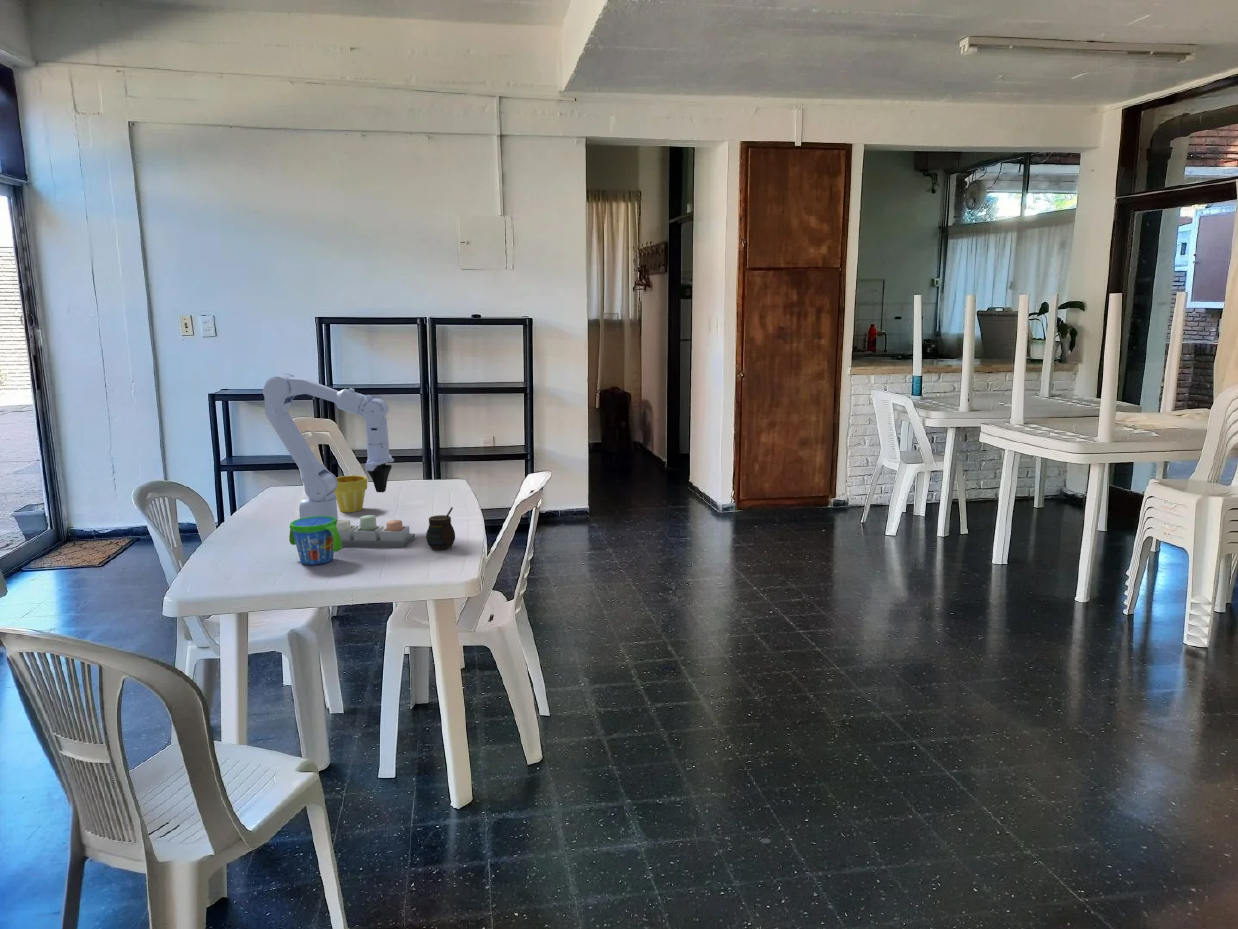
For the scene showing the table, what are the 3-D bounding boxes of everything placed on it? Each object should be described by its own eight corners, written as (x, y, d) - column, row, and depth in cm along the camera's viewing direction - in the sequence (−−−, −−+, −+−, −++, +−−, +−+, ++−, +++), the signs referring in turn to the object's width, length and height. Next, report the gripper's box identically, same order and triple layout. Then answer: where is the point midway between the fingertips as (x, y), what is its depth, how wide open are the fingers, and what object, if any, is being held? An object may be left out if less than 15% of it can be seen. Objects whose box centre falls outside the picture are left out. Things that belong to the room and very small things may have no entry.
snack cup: (278, 561, 202) (274, 521, 200) (316, 551, 211) (312, 512, 209) (317, 572, 193) (314, 530, 191) (355, 561, 202) (352, 520, 200)
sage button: (358, 533, 216) (357, 518, 215) (364, 529, 220) (363, 515, 219) (373, 534, 215) (372, 519, 215) (379, 530, 219) (378, 515, 218)
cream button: (332, 538, 216) (331, 523, 216) (339, 534, 220) (337, 519, 220) (347, 538, 216) (346, 523, 215) (353, 534, 220) (352, 519, 219)
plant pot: (362, 514, 249) (360, 482, 247) (328, 514, 249) (325, 482, 247) (373, 505, 259) (371, 475, 257) (340, 506, 259) (337, 475, 257)
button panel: (322, 546, 214) (321, 532, 214) (336, 537, 223) (335, 523, 223) (403, 547, 213) (402, 533, 212) (415, 538, 221) (414, 524, 221)
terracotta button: (384, 538, 215) (383, 523, 214) (390, 534, 219) (389, 520, 218) (400, 539, 215) (399, 524, 214) (405, 535, 219) (404, 520, 218)
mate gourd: (420, 549, 211) (418, 510, 209) (442, 542, 217) (440, 505, 216) (440, 553, 207) (438, 514, 205) (462, 546, 213) (460, 508, 212)
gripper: (382, 447, 220) (385, 497, 222) (401, 439, 234) (404, 486, 237) (356, 447, 221) (359, 497, 223) (376, 439, 235) (379, 486, 237)
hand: (381, 491), depth 230 cm, fingers closed
